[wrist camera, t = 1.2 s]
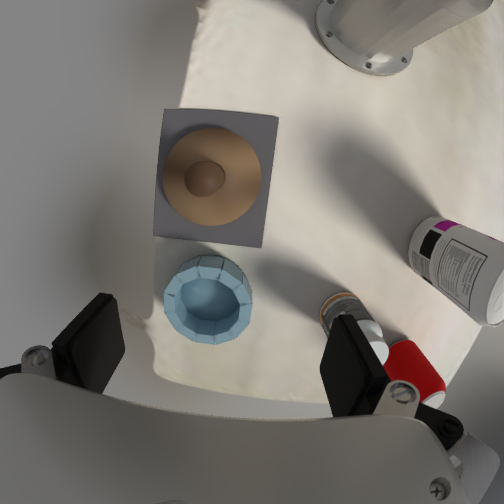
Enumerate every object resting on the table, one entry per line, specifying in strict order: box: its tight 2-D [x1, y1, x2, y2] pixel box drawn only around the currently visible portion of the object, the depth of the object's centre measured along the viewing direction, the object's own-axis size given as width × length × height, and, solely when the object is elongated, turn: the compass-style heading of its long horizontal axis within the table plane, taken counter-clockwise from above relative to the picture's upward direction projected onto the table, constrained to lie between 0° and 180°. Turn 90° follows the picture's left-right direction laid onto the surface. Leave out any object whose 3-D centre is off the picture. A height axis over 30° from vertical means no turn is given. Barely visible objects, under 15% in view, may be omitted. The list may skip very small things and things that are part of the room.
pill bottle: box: [319, 292, 389, 365], centre depth 28 cm, size 6×6×10 cm
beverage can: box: [383, 340, 446, 409], centre depth 29 cm, size 6×6×12 cm
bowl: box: [164, 255, 252, 345], centre depth 29 cm, size 9×9×4 cm
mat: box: [153, 109, 279, 248], centre depth 27 cm, size 14×12×1 cm
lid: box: [163, 128, 261, 226], centre depth 24 cm, size 10×10×6 cm
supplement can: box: [408, 216, 504, 327], centre depth 23 cm, size 8×8×15 cm
